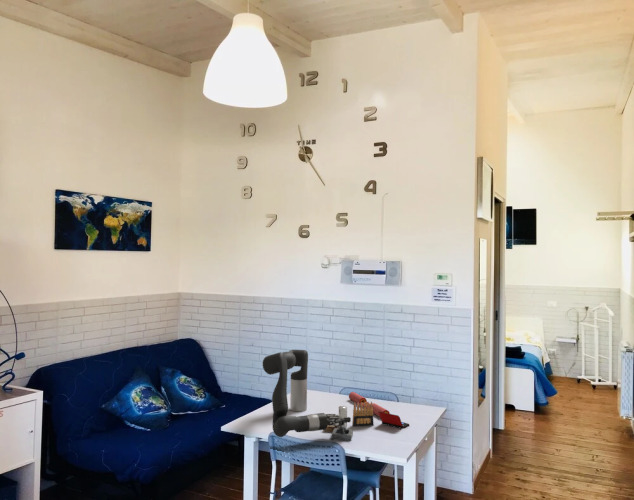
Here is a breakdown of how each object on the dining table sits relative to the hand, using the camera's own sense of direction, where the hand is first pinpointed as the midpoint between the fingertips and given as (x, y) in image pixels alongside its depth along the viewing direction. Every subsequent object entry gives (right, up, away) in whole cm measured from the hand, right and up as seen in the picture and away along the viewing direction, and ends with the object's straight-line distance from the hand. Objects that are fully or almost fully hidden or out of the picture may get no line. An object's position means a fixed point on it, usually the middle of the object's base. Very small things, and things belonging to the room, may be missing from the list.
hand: (347, 418), depth 257 cm
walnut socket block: (-6, -9, +10) cm, 15 cm away
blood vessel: (+14, -10, +49) cm, 52 cm away
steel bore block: (-3, -8, -1) cm, 9 cm away
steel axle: (-3, -8, -1) cm, 9 cm away
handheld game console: (+25, -10, +18) cm, 32 cm away
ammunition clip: (+9, -9, +17) cm, 21 cm away
